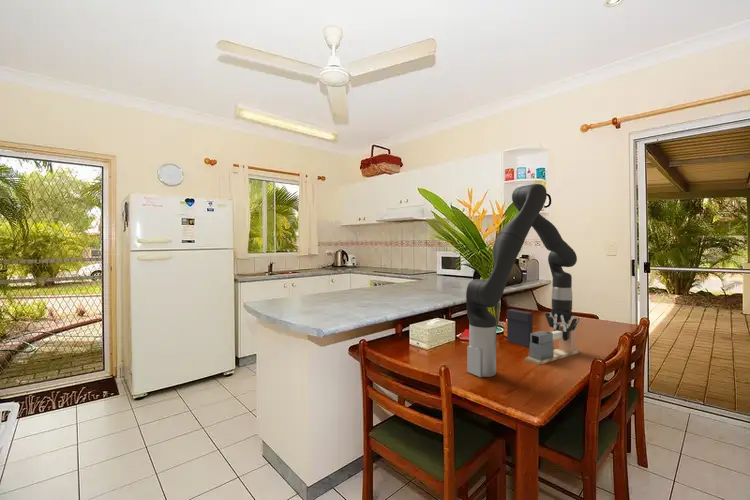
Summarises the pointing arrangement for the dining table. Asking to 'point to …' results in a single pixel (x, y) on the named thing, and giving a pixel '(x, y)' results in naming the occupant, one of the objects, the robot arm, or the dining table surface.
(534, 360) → the base board
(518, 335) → the dark gray lidded box
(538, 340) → the sleeve
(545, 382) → the dining table surface
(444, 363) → the dining table surface
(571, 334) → the socket
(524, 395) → the dining table surface
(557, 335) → the slip tube
